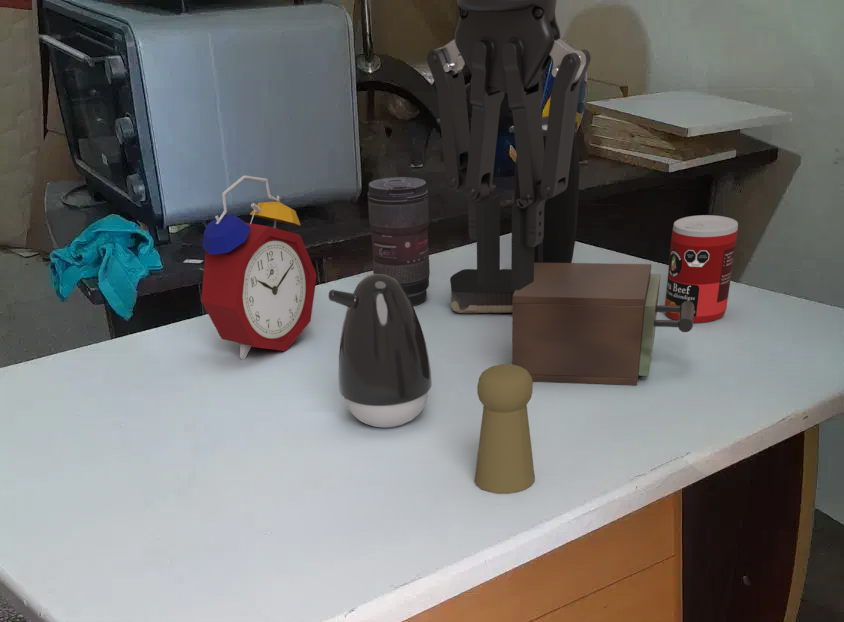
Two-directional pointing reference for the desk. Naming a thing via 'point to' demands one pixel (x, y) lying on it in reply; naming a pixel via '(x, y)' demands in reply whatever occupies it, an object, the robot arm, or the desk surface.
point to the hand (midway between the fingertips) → (505, 282)
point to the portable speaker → (558, 213)
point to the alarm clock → (257, 277)
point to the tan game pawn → (504, 430)
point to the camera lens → (401, 233)
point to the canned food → (701, 265)
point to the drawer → (659, 321)
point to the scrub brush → (481, 293)
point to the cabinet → (581, 322)
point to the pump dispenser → (382, 353)
